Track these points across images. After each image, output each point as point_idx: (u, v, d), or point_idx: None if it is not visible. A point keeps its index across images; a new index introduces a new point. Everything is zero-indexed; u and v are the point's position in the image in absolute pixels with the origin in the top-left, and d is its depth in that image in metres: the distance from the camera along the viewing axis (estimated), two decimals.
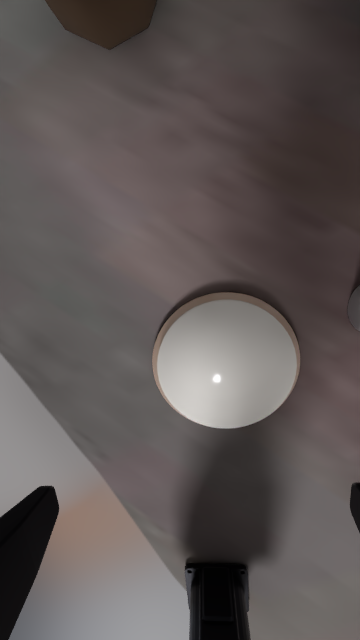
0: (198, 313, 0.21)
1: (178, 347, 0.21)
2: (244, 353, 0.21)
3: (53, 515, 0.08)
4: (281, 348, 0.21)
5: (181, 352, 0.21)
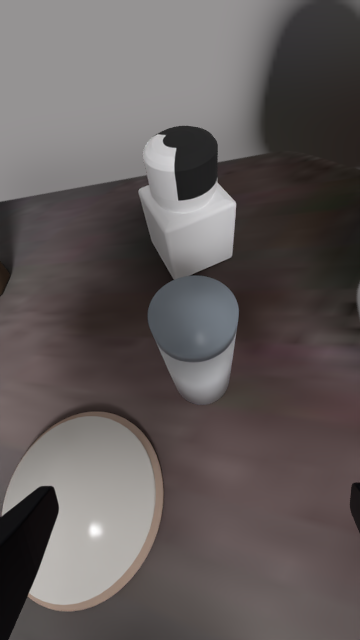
0: (40, 444, 0.21)
1: (24, 491, 0.20)
2: (92, 469, 0.20)
3: (53, 515, 0.08)
4: (126, 446, 0.20)
5: None
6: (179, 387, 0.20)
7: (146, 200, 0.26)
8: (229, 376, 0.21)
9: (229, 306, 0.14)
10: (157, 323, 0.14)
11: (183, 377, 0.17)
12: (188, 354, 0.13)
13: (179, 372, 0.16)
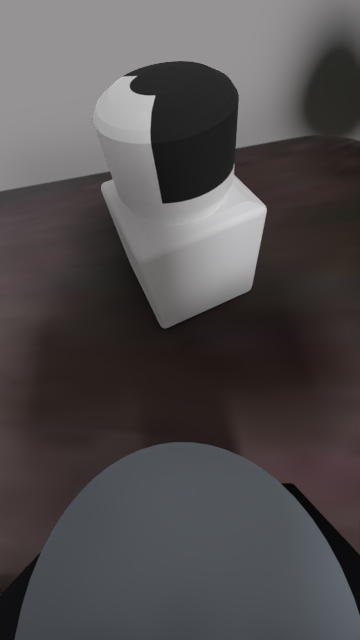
0: None
1: None
2: None
3: None
4: None
5: None
6: None
7: (111, 202, 0.15)
8: None
9: (328, 625, 0.04)
10: None
11: None
12: None
13: None
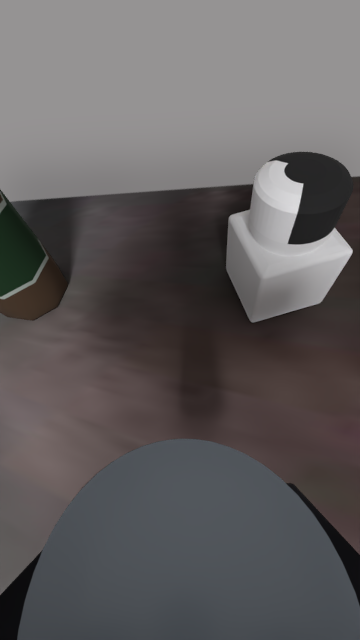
0: None
1: None
2: None
3: None
4: None
5: None
6: None
7: (238, 231, 0.22)
8: None
9: (329, 619, 0.04)
10: None
11: None
12: None
13: None
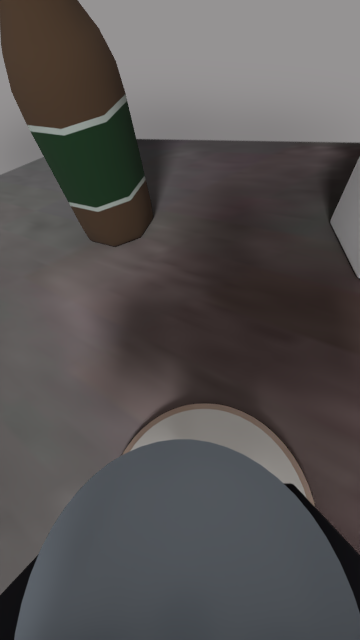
0: (168, 425, 0.17)
1: None
2: None
3: None
4: (279, 473, 0.15)
5: None
6: None
7: None
8: None
9: (327, 620, 0.04)
10: None
11: None
12: None
13: None
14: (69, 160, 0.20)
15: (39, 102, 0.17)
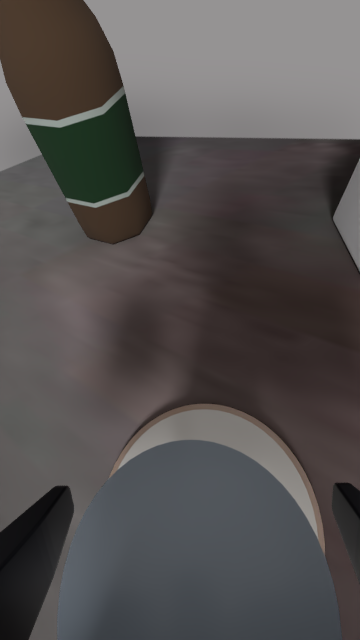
0: (166, 426, 0.17)
1: None
2: None
3: (69, 515, 0.08)
4: (282, 477, 0.15)
5: None
6: None
7: None
8: None
9: (305, 580, 0.05)
10: (84, 634, 0.05)
11: None
12: None
13: None
14: (65, 154, 0.19)
15: (34, 92, 0.16)
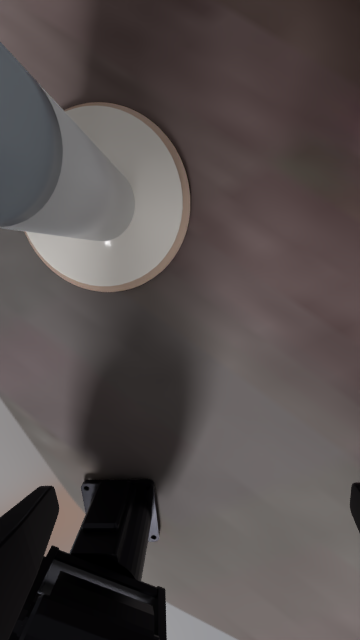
0: None
1: None
2: None
3: (53, 515, 0.08)
4: (162, 171, 0.17)
5: None
6: None
7: None
8: (122, 211, 0.15)
9: (22, 118, 0.07)
10: None
11: None
12: None
13: None
14: None
15: None
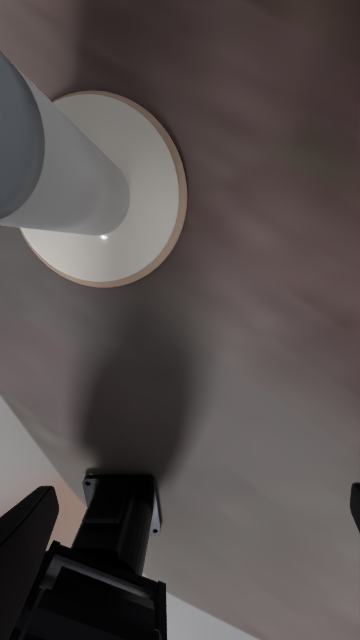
0: None
1: None
2: None
3: (53, 515, 0.08)
4: (157, 162, 0.17)
5: None
6: None
7: None
8: (116, 204, 0.15)
9: None
10: None
11: None
12: None
13: None
14: None
15: None
